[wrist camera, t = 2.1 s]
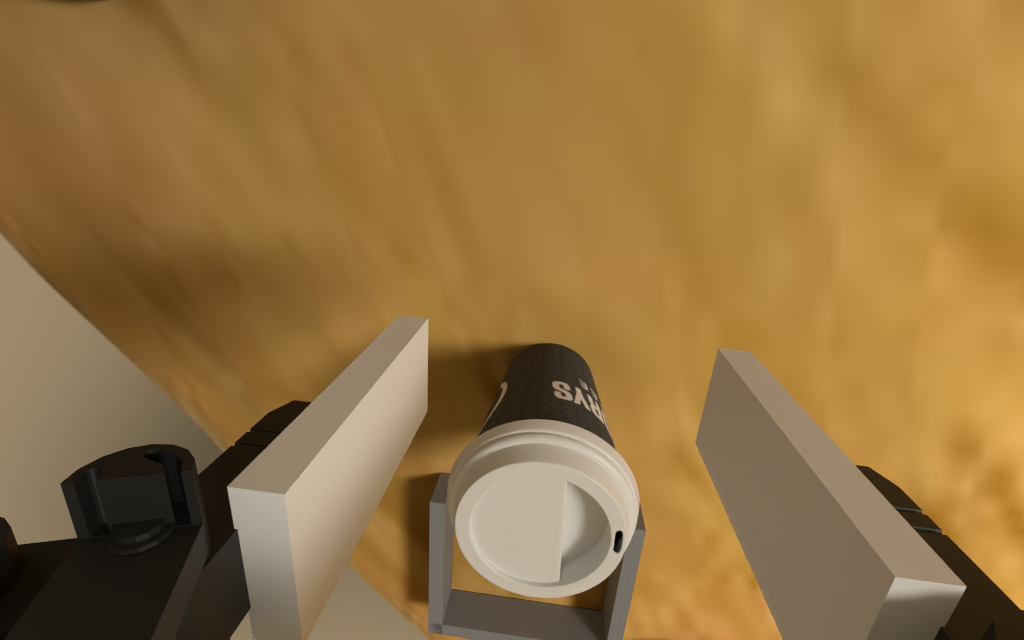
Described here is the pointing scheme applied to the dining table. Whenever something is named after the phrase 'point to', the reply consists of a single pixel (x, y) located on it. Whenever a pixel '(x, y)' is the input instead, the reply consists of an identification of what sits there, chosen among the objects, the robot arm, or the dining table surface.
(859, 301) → the dining table surface
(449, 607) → the bay
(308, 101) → the dining table surface
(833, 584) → the robot arm
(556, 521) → the coffee cup
